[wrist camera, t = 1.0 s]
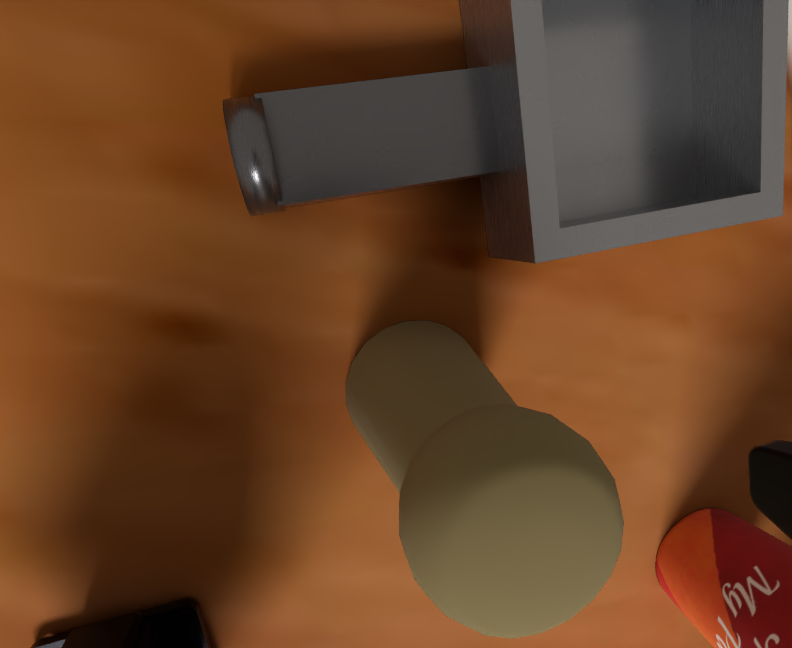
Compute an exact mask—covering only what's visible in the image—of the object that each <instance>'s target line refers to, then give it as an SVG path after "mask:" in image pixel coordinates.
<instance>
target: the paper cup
mask: <svg viewBox="0 0 792 648" xmlns="http://www.w3.org/2000/svg"><path fill="white" fill-rule="evenodd" d="M656 575H657V579H658V581H659V583H660V585H661V586H662V588H663V589H664V591H665V592H666V593H667V594H668V596H669V597H670V598H671V599H672V600H673V602H674V603H675V604H676V605H677V606H678V607H679V608H680V610H681V611H682V612H683V613H684V614H685V615H686V616H687V618H688V619H689V620H690V621H691V622H692V623H693V624H694V625H695V627H696V628H697V629H698V630H699V631H700V632H701V633H702V634H703V635H704V637H705V638H706V639H707V640H708V641H709V642H710V643H711V644H712V645H713V647H714V648H792V547H791V546H789V545H788V544H786V543H784V542H782V541H781V540H779V539H777V538H775V537H774V536H772V535H770V534H768V533H767V532H765V531H763V530H761V529H759V528H758V527H756V526H754V525H752V524H750V523H749V522H747V521H745V520H743V519H741V518H739V517H738V516H736V515H734V514H732V513H730V512H727V511H725V510H722V509H718V508H705V509H701V510H698V511H695V512H692V513H690V514H689V515H687V516H685V517H684V518H682V519H681V520H680V521H678V522H677V523H676V524H675V525H674V526H673V527H672V528H671V529H670V531H669V532H668V533H667V535H666V536H665V538H664V539H663V541H662V543H661V545H660V547H659V550H658V553H657V557H656Z"/></svg>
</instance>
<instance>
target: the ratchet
mask: <svg viewBox="0 0 792 648" xmlns="http://www.w3.org/2000/svg"><path fill="white" fill-rule="evenodd" d="M459 3H460V12H461V20H462V29H463V38H464V46H465V55H466V63H467V69H461V70H453V71H444V72H436V73H427V74H419V75H410V76H402V77H393V78H385V79H376V80H368V81H359V82H351V83H342V84H334V85H325V86H317V87H308V88H300V89H291V90H283V91H275V92H266V93H258V94H254V96H247V97H238V98H230V99H223V111H224V118H225V124H226V129H227V135H228V139H229V144H230V149H231V153H232V157H233V161H234V165H235V169H236V173H237V177H238V180H239V184H240V187H241V191H242V194H243V197H244V200H245V203H246V206H247V209H248V211H249V213H250V215H251V216H256V215H262V214H268V213H274V212H281V211H286V208H287V207H294V206H300V205H306V204H313V203H319V202H325V201H332V200H338V199H344V198H351V197H357V196H363V195H370V194H376V193H382V192H389V191H395V190H401V189H408V188H414V187H420V186H427V185H433V184H439V183H446V182H452V181H458V180H465V179H471V178H477V177H480V184H481V193H482V201H483V210H484V218H485V227H486V236H487V244H488V253H489V257H492V258H499V259H507V260H514V261H521V262H529V263H540V262H545V261H550V260H556V259H561V258H566V257H571V256H576V255H581V254H587V253H592V252H597V251H602V250H607V249H612V248H618V247H623V246H628V245H633V244H638V243H643V242H649V241H654V240H659V239H664V238H669V237H674V236H680V235H685V234H690V233H695V232H700V231H705V230H711V229H716V228H721V227H726V226H731V225H737V224H742V223H747V222H752V221H757V220H762V219H768V218H773V217H778V216H783V189H784V151H785V113H786V75H787V36H788V0H459Z"/></svg>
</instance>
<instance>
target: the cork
mask: <svg viewBox="0 0 792 648" xmlns="http://www.w3.org/2000/svg"><path fill="white" fill-rule="evenodd" d="M346 405H347V408H348V410H349V413H350V416H351V418H352V421H353V424H354V425H355V427H356V428H357V430H358V431H359V433H360V434H361V436H362V437H363V439H364V440H365V442H366V443H367V445H368V446H369V448H370V449H371V451H372V452H373V454H374V455H375V457H376V458H377V460H378V461H379V463H380V464H381V466H382V467H383V469H384V470H385V472H386V473H387V475H388V476H389V478H390V479H391V481H392V482H393V484H394V485H395V487H396V488H397V490H398V491H399V493H400V500H399V535H400V539H401V542H402V546H403V549H404V552H405V555H406V557H407V560H408V563H409V565H410V568H411V571H412V573H413V576H414V579H415V580H416V582H417V583H418V584H419V586H420V587H421V588H422V590H423V591H424V592H425V594H426V595H427V596H428V597H429V598H430V599H431V600H432V602H433V603H434V604H435V605H436V606H437V607H438V608H439V609H440V610H441V611H442V612H443V614H444V615H445V616H447V617H449V618H451V619H453V620H455V621H457V622H459V623H461V624H463V625H465V626H467V627H469V628H471V629H473V630H475V631H477V632H479V633H481V634H483V635H486V636H495V637H504V638H518V637H523V636H529V635H534V634H540V633H543V632H545V631H547V630H549V629H551V628H553V627H555V626H557V625H560V624H562V623H564V622H566V621H568V620H569V619H571V618H572V617H573V616H574V615H575V614H577V613H578V612H579V611H580V610H582V609H583V608H584V607H585V606H586V605H588V604H589V603H590V602H591V601H592V600H593V599H594V598H595V596H596V595H597V594H598V592H599V591H600V590H601V588H602V587H603V586H604V584H605V583H606V582H607V580H608V579H609V578H610V576H611V573H612V571H613V568H614V566H615V563H616V561H617V558H618V556H619V554H620V551H621V544H622V535H623V525H624V521H623V516H622V511H621V506H620V501H619V497H618V492H617V488H616V483H615V479H614V478H613V476H612V475H611V473H610V472H609V470H608V469H607V467H606V466H605V464H604V463H603V461H602V460H601V458H600V457H599V455H598V454H597V452H596V451H595V449H594V448H593V447H592V445H591V444H590V442H589V441H588V440H586V439H585V438H584V437H582V436H581V435H579V434H578V433H576V432H575V431H574V430H572V429H571V428H569V427H568V426H566V425H565V424H564V423H562V422H561V421H559V420H558V419H556V418H555V417H553V416H552V415H550V414H546V413H542V412H538V411H535V410H531V409H527V408H523V407H519V406H517V405H516V403H515V402H514V401H513V400H512V398H511V397H510V396H509V395H508V393H507V392H506V391H505V390H504V388H503V387H502V386H501V384H500V383H499V382H498V381H497V379H496V378H495V377H494V376H493V374H492V373H491V372H490V371H489V369H488V368H487V367H486V365H485V364H484V363H483V362H482V360H481V359H480V358H479V357H478V355H477V354H476V353H475V351H474V350H473V349H472V348H471V346H470V345H469V344H468V343H467V341H466V340H465V339H464V338H463V337H462V336H460V335H459V334H458V333H456V332H455V331H453V330H452V329H450V328H449V327H448V326H445V325H442V324H438V323H435V322H431V321H428V320H419V321H404V322H401V323H398V324H395V325H393V326H390V327H387V328H384V329H383V330H381V331H380V332H379V333H377V334H376V335H375V336H373V337H372V338H371V339H370V340H368V341H367V342H366V343H365V344H364V345H363V347H362V348H361V350H360V351H359V352H358V354H357V355H356V357H355V358H354V360H353V361H352V364H351V367H350V370H349V373H348V377H347V380H346Z"/></svg>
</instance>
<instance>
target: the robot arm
mask: <svg viewBox="0 0 792 648" xmlns="http://www.w3.org/2000/svg"><path fill="white" fill-rule="evenodd" d="M748 468H749V492H750V496H751V499H752V501H753V503H754V504H755V506H756V507H757V508H758V509H759V510H760V511H761V512H762V513H763V514H764V515H765V516H766V517H767V518H768V519H769V520H771V521H772V522H773V523H774V524H775V525H776V526H777V527H778V528H779V529H780V530H781V531H783V532H784V533H785V534H786V535H787V536H788V537H789V538H790V539H791V540H792V442H789V441H782V440H774V441H770V442H767V443H764V444H761V445H758V446H755V447H753V448H752V449H751V450H750V452H749V454H748ZM182 611H188V612H190V613H189V614H184V613H182ZM31 648H212V646H211V643H210V639H209V636H208V633H207V630H206V626H205V623H204V620H203V617H202V614H201V610H200V607H199V605H198V603H197V602H196V601H195V600H193V599H189V598H187V599H182V600H178V601H175V602H171V603H167V604H164V605H160V606H157V607H153V608H150V609H146V610H143V611H139V612H135V613H131V614H127V615H124V616H120V617H117V618H113V619H110V620H106V621H103V622H99V623H95V624H92V625H88V626H85V627H81V628H78V629H74V630H72V631H68V632H64V633H61V634H57V635H54V636H50V637H47V638H43V639H40V640H38V641H36V642H35V643H34V644H33V645H32V647H31Z"/></svg>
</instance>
